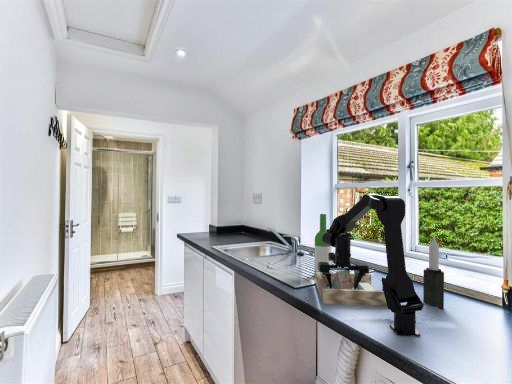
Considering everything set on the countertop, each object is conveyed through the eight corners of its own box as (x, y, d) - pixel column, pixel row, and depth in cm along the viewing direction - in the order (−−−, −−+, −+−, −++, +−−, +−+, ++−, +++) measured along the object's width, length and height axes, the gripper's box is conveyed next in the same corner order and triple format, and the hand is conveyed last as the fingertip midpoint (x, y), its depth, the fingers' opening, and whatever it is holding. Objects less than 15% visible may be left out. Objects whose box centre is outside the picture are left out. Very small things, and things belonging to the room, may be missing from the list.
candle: (433, 310, 101) (434, 238, 101) (421, 304, 106) (422, 235, 106) (445, 308, 102) (446, 237, 102) (433, 303, 107) (433, 235, 107)
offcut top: (368, 287, 120) (368, 282, 120) (380, 300, 106) (380, 295, 106) (358, 287, 121) (358, 282, 121) (368, 300, 107) (368, 294, 107)
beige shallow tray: (370, 287, 124) (370, 273, 124) (390, 308, 102) (390, 291, 102) (315, 285, 126) (315, 272, 126) (323, 306, 104) (323, 290, 103)
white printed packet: (332, 296, 114) (332, 270, 114) (345, 293, 117) (345, 268, 117) (339, 299, 111) (339, 273, 111) (352, 296, 114) (352, 270, 114)
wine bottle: (320, 281, 132) (320, 215, 132) (311, 276, 140) (311, 213, 139) (334, 279, 135) (335, 214, 135) (324, 274, 142) (325, 213, 142)
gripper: (361, 246, 121) (361, 283, 122) (315, 245, 123) (315, 282, 123) (369, 251, 110) (369, 293, 110) (319, 251, 112) (319, 291, 112)
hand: (342, 289), depth 114 cm, fingers open, 9 cm apart
